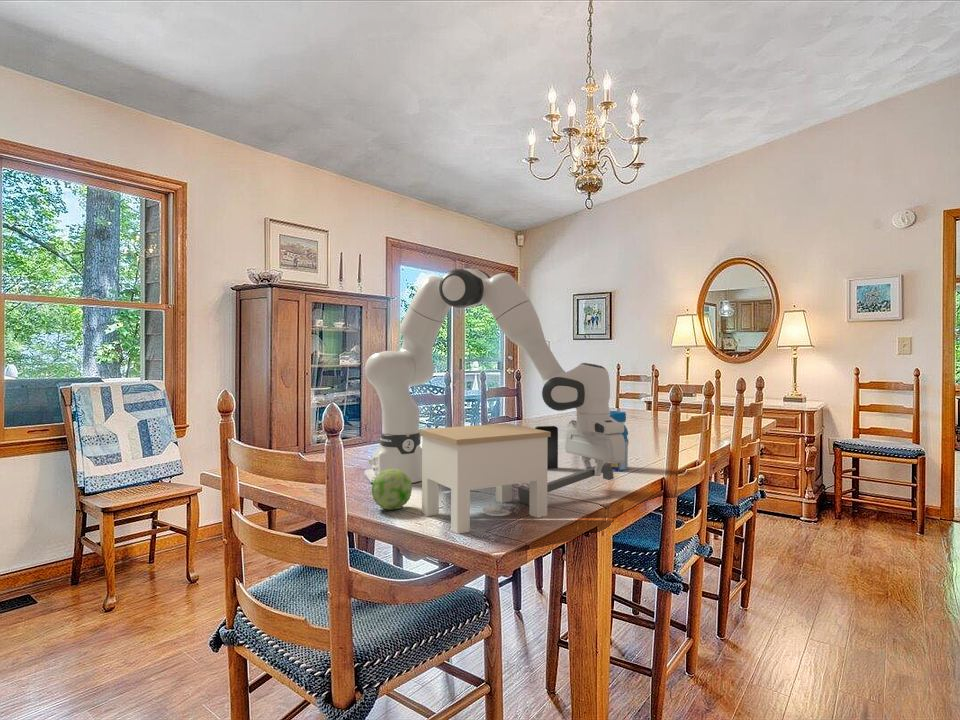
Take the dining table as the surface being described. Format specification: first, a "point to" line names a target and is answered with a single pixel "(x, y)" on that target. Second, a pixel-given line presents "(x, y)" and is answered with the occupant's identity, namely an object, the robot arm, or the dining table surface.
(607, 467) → the hoe scraper
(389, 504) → the decorative ball
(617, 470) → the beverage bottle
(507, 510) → the steel token
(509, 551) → the dining table surface
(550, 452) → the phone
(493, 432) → the white tan small table
